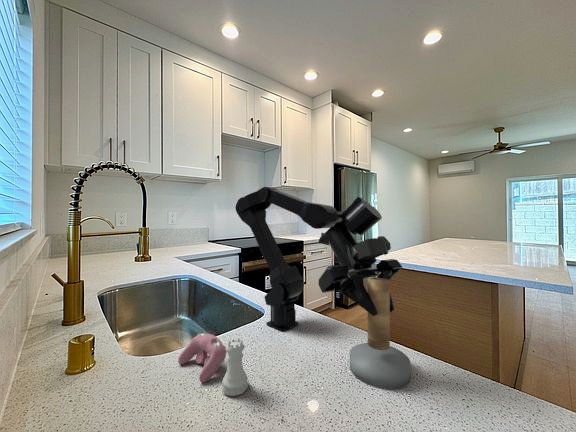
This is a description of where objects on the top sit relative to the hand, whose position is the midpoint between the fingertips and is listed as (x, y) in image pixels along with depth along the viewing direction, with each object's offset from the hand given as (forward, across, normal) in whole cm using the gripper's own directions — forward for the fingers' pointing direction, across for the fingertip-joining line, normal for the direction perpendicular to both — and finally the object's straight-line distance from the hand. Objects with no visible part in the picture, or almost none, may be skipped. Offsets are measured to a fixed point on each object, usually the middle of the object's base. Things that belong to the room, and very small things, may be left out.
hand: (384, 312), depth 47 cm
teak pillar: (+4, 0, +6) cm, 7 cm away
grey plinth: (+7, 0, +9) cm, 12 cm away
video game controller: (-4, -30, +21) cm, 37 cm away
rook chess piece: (+2, -26, +14) cm, 30 cm away
